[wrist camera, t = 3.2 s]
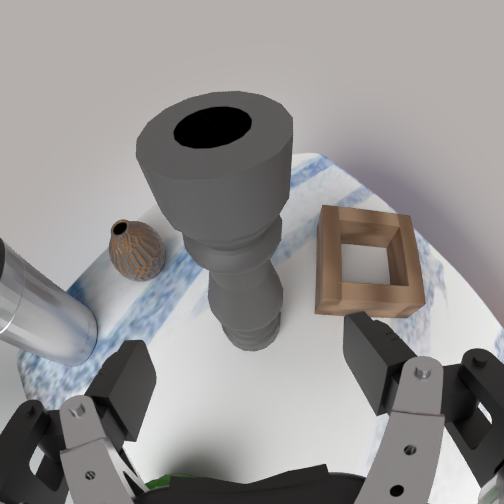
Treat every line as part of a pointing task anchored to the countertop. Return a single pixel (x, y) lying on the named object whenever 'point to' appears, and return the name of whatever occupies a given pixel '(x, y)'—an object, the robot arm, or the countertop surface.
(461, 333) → the countertop surface
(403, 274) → the socket block
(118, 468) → the robot arm
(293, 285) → the countertop surface
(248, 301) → the candle holder
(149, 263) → the vase
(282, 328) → the countertop surface
